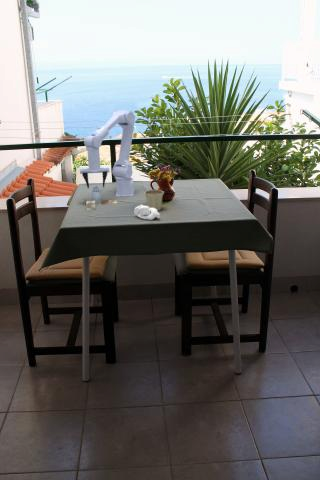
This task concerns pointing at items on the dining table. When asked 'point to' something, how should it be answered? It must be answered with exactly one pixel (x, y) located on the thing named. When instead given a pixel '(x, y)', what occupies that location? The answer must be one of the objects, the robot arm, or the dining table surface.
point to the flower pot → (154, 198)
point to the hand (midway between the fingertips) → (96, 187)
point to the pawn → (96, 195)
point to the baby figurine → (146, 212)
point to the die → (90, 205)
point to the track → (103, 202)
